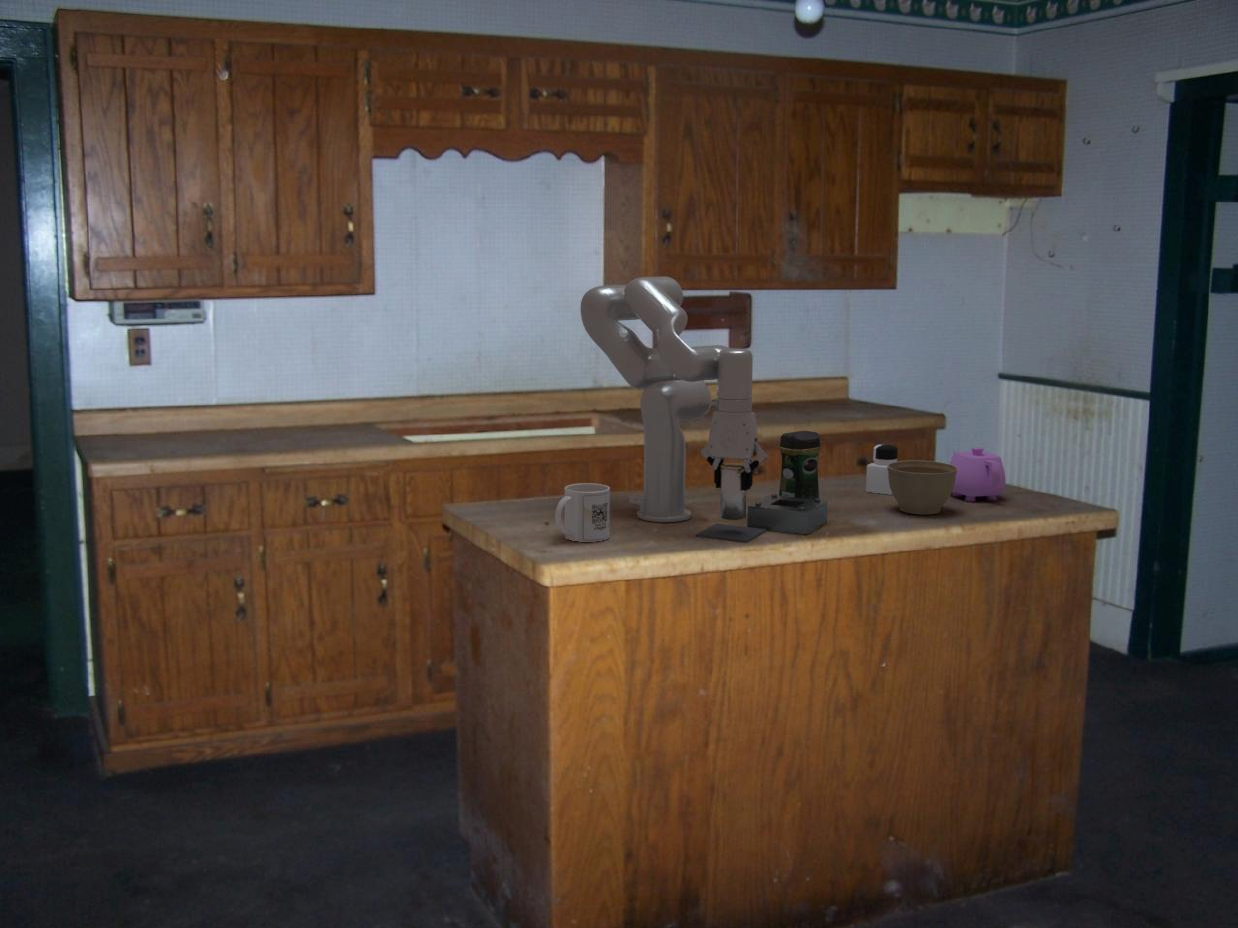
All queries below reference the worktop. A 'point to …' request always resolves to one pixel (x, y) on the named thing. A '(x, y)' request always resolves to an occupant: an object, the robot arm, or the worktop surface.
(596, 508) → the mug
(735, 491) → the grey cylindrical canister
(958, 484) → the teapot
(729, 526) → the rubber mat
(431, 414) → the worktop surface
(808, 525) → the housing
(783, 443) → the coffee jar
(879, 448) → the medicine bottle
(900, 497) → the planter bowl
